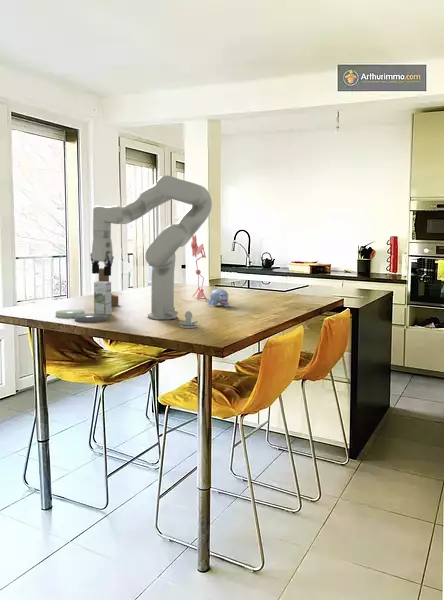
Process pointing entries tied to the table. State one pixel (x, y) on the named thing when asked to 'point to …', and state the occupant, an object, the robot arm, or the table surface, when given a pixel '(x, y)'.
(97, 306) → the syrup box
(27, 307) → the table surface
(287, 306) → the table surface
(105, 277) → the wooden block
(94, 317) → the disc
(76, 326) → the table surface
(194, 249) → the pink articulated figure
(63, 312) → the disc
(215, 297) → the hippopotamus toy
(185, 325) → the pacifier
